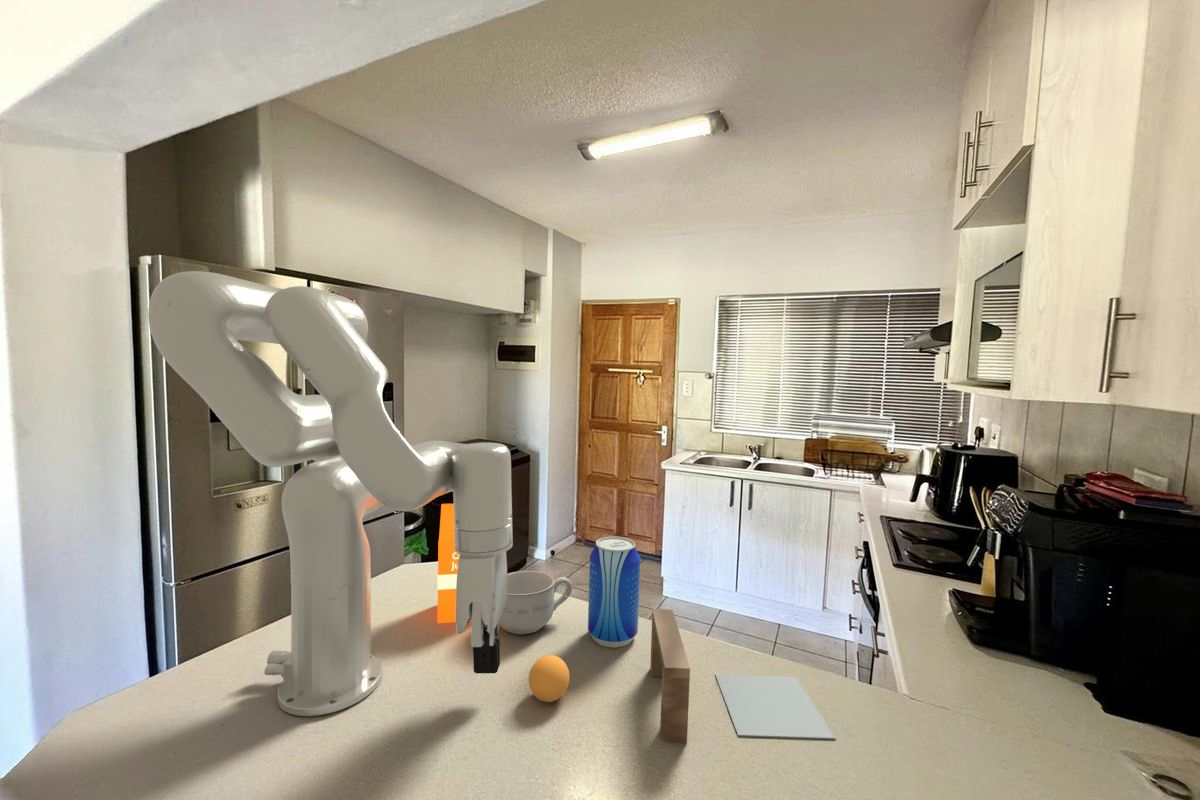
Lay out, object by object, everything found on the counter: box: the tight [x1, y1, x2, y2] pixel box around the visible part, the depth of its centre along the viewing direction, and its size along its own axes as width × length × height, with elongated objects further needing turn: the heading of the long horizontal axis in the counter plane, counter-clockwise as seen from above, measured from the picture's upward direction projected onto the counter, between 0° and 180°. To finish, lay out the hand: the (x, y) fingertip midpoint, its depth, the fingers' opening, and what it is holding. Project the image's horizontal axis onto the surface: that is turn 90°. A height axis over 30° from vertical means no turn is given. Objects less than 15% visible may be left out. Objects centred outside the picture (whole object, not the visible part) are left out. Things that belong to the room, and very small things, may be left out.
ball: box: [528, 654, 571, 703], centre depth 66 cm, size 6×6×6 cm
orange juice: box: [437, 503, 471, 624], centre depth 88 cm, size 8×9×20 cm
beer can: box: [587, 536, 641, 648], centre depth 81 cm, size 8×8×16 cm
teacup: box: [499, 570, 573, 635], centre depth 84 cm, size 14×11×8 cm
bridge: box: [650, 608, 691, 743], centre depth 65 cm, size 3×14×9 cm, turn 0°
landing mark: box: [715, 674, 837, 740], centre depth 66 cm, size 12×12×1 cm
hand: (487, 669), depth 65 cm, fingers closed
